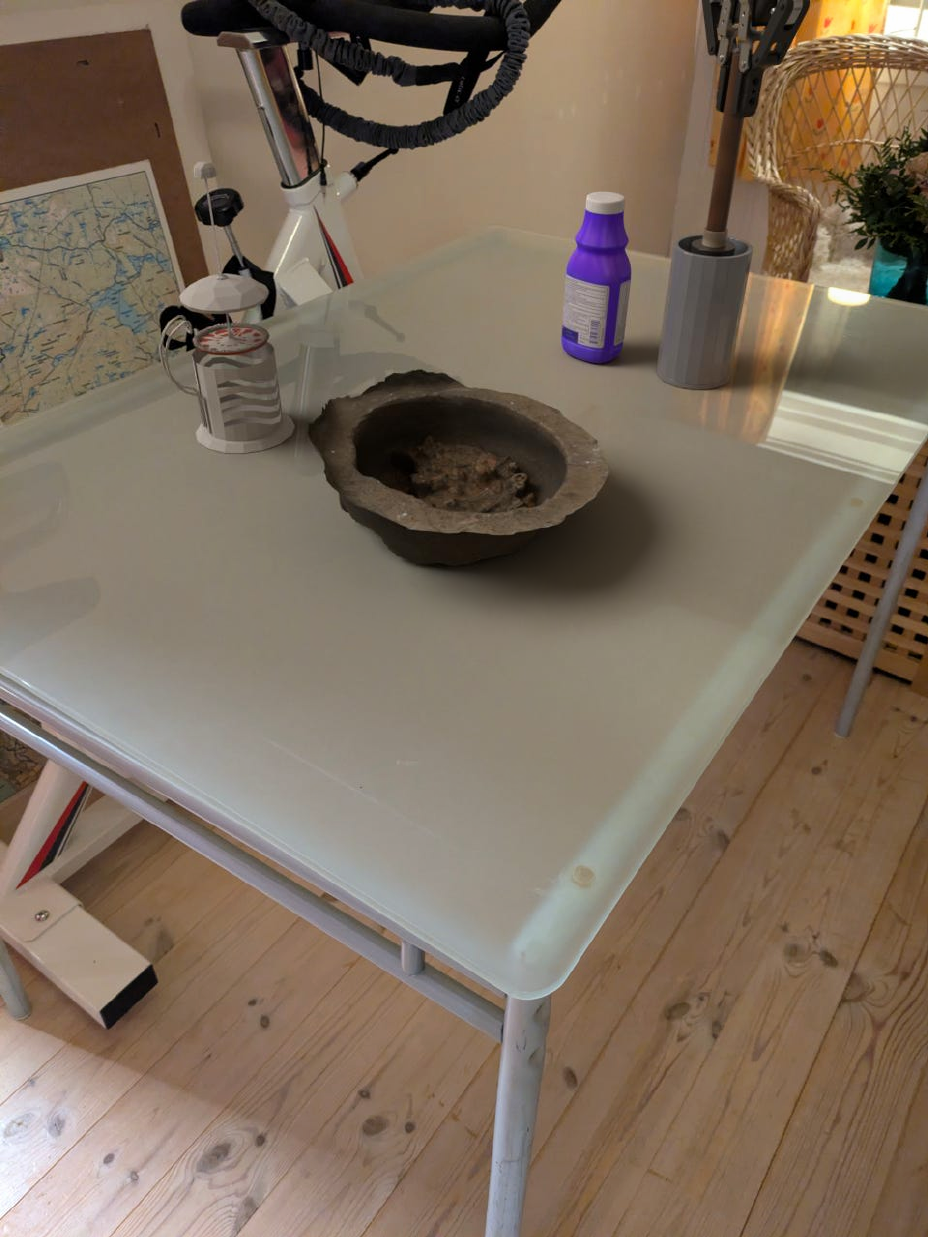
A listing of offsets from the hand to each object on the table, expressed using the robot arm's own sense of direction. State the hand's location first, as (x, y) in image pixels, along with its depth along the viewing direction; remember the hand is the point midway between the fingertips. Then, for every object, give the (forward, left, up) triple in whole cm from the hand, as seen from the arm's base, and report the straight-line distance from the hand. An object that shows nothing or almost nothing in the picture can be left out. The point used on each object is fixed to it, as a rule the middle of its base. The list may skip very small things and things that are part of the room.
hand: (734, 112), depth 90 cm
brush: (0, 0, -17) cm, 17 cm away
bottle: (+8, -9, -26) cm, 29 cm away
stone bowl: (+35, +18, -26) cm, 47 cm away
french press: (+50, -5, -26) cm, 57 cm away
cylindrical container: (0, 0, -26) cm, 26 cm away
